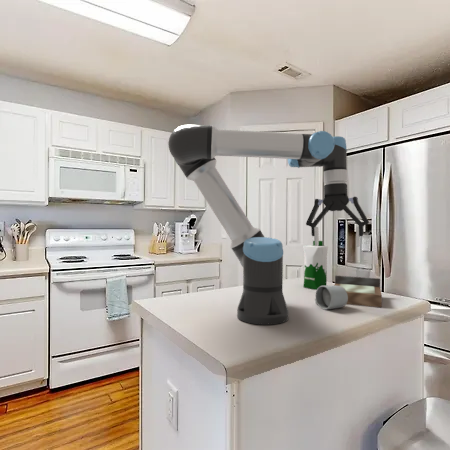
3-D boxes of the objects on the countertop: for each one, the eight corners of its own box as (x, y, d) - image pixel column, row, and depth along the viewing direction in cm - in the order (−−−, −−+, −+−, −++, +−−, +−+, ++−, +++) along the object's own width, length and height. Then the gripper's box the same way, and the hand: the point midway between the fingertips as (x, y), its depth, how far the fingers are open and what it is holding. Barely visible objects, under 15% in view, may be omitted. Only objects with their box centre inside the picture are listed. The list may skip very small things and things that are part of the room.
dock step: (331, 302, 114) (331, 282, 114) (335, 292, 129) (335, 275, 128) (381, 307, 107) (381, 286, 107) (379, 296, 122) (380, 278, 122)
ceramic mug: (350, 309, 105) (350, 285, 105) (331, 312, 102) (331, 287, 102) (326, 302, 115) (326, 280, 115) (308, 304, 111) (308, 282, 111)
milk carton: (329, 287, 138) (330, 241, 138) (318, 290, 132) (318, 242, 132) (311, 284, 145) (312, 240, 145) (300, 287, 139) (300, 241, 138)
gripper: (376, 181, 107) (378, 245, 107) (302, 187, 119) (303, 244, 119) (374, 179, 100) (376, 247, 100) (296, 185, 112) (297, 246, 113)
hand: (336, 246), depth 110 cm, fingers open, 13 cm apart
